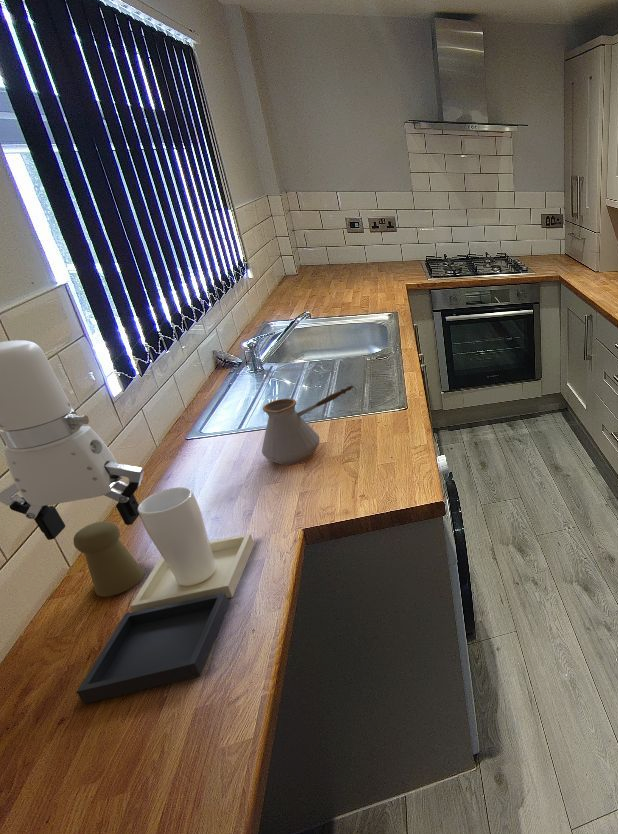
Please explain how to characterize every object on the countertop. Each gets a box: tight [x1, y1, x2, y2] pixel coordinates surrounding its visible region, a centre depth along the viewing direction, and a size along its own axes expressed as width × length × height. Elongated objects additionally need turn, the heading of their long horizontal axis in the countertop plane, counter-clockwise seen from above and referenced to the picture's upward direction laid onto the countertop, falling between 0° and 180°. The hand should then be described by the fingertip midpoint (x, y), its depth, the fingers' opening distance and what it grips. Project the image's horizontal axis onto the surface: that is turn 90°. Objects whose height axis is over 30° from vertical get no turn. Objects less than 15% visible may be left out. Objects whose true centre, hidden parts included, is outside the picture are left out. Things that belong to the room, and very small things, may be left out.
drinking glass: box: [138, 486, 217, 586], centre depth 82 cm, size 7×7×15 cm
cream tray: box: [129, 533, 255, 612], centre depth 85 cm, size 13×13×2 cm
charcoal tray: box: [76, 593, 230, 705], centre depth 72 cm, size 13×13×2 cm
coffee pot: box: [261, 385, 358, 465], centre depth 117 cm, size 21×12×15 cm, turn 110°
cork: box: [72, 520, 145, 598], centre depth 82 cm, size 6×6×11 cm
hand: (96, 526), depth 80 cm, fingers open, 9 cm apart
